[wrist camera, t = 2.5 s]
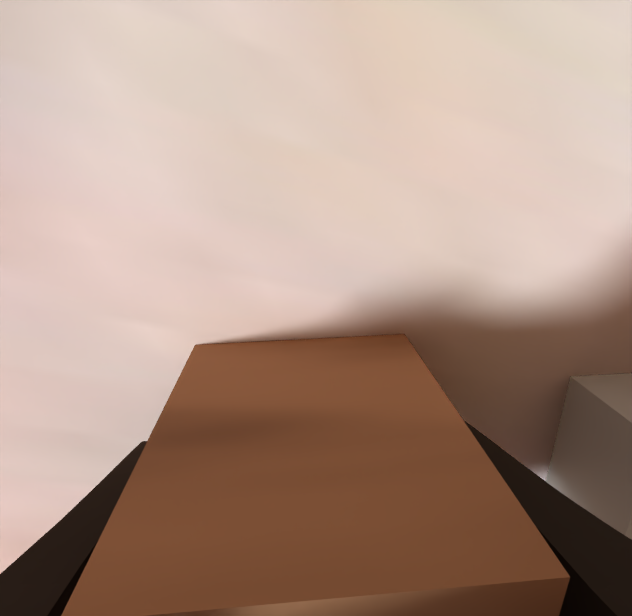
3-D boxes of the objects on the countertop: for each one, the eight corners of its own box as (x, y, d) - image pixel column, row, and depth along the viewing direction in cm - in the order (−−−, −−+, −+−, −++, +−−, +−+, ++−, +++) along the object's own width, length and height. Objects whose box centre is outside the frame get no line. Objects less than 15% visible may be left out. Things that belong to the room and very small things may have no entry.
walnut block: (394, 491, 11) (499, 814, 6) (218, 504, 11) (149, 859, 5) (403, 333, 10) (569, 577, 4) (195, 343, 9) (57, 623, 4)
